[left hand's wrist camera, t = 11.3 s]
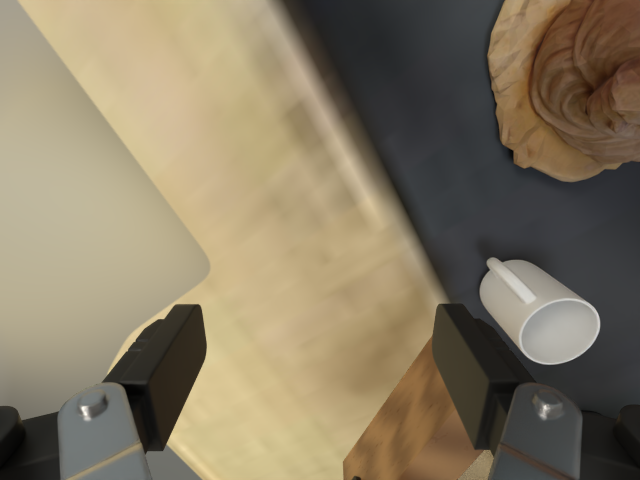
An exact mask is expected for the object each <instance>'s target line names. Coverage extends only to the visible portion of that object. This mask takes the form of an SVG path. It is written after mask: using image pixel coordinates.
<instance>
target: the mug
mask: <svg viewBox="0 0 640 480" xmlns="http://www.w3.org/2000/svg"><path fill="white" fill-rule="evenodd" d="M487 266H488V267H489V269H490V271H489V272H488V273H487V274H486V275H485V276H484V278H483V280H482V282H481V285H480V298H481V301H482V303H483V305H484V306H485V308H486V309H487V311H488V312H489V313H490V314H491V315H492V317H493V318H494V319H495V320H496V321H497V323H498V324H499V325H500V326H501V327H502V328H503V330H504V331H505V332H506V333H507V334H508V336H509V337H510V338H511V339H512V340H513V342H514V343H515V344H516V345H517V346H518V348H519V349H520V350H521V351H522V352H523V354H524V355H525V356H526V357H528V358H529V359H531V360H533V361H535V362H537V363H541V364H560V363H564V362H567V361H570V360H572V359H574V358H576V357H578V356H580V355H581V354H583V353H584V352H585V351H586V350H587V349H588V348H589V347H590V346H591V345H592V344H593V343H594V341H595V339H596V338H597V335H598V333H599V329H600V319H599V315H598V313H597V311H596V309H595V308H594V307H593V306H592V305H591V304H589V303H588V302H587V301H585V300H584V299H582V298H581V297H580V296H578V295H577V294H575V293H574V292H573V291H571V290H570V289H568V288H567V287H566V286H564V285H563V284H561V283H560V282H558V281H557V280H556V279H554V278H553V277H551V276H550V275H549V274H547V273H546V272H544V271H543V270H542V269H540V268H539V267H537V266H536V265H534V264H532V263H530V262H527V261H524V260H509V261H505V262H501V261H500V260H498V259H497V258H489V259H488V260H487Z"/></svg>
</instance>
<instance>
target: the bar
mask: <svg viewBox="0 0 640 480" xmlns="http://www.w3.org/2000/svg"><path fill="white" fill-rule="evenodd" d="M432 337H433V335H432ZM432 337H431V338H430V340H429V341H428V342H427V344H426V345H425V347H424V348H423V349H422V351H421V352H420V354H419V355H418V356H417V358H416V359H415V361H414V362H413V364H412V365H411V366H410V368H409V369H408V371H407V372H406V373H405V375H404V376H403V378H402V379H401V381H400V382H399V383H398V385H397V386H396V388H395V389H394V390H393V392H392V393H391V395H390V396H389V397H388V399H387V400H386V402H385V403H384V405H383V406H382V407H381V409H380V410H379V412H378V413H377V414H376V416H375V417H374V419H373V420H372V421H371V423H370V424H369V426H368V427H367V429H366V430H365V431H364V433H363V434H362V436H361V437H360V438H359V440H358V441H357V443H356V444H355V445H354V447H353V448H352V450H351V451H350V453H349V454H348V455H347V457H346V458H345V460H344V461H343V475H344V480H352V478H353V477H354V476H357V477H360V478H361V480H457V479H458V478H459V477H460V476H461V475H462V474H463V473H464V472H465V471H466V469H467V468H468V467H469V466H470V465H471V464H472V463H473V462H474V461H475V460H476V458H477V457H478V456H479V455H480V454H481V453H482V452H483V451H484V450H474V448H473V445H472V443H471V441H470V439H469V437H468V434H467V432H466V430H465V428H464V426H463V423H462V421H461V419H460V417H459V414H458V412H457V410H456V408H455V406H454V403H453V401H452V399H451V397H450V395H449V392H448V390H447V388H446V386H445V384H444V381H443V379H442V377H441V375H440V373H439V370H438V368H437V366H436V364H435V361H434V359H433V354H432Z"/></svg>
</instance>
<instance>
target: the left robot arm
mask: <svg viewBox="0 0 640 480" xmlns="http://www.w3.org/2000/svg"><path fill="white" fill-rule="evenodd" d="M206 349H207V343H206V336H205V329H204V322H203V315H202V309H201V306H200V305H199V304H176V305H175V306H174V307H173V308H172V309H171V311H170V312H169V313H168V315H167V316H166V317H165V319H158V320H157V321H155V322H154V323H152V324H151V325H149V326H148V327H146V328H145V329H144V330H143V331H142V333H141V334H140V335H139V336H138V338H137V339H136V342H134V343H133V344H132V345H131V346H130V348H129V349H128V352H126V353H125V354H124V355H123V356H122V358H121V359H120V360H119V361H118V363H117V364H116V365H115V366H114V368H113V369H112V370H111V371H110V373H109V374H108V375H107V376H106V378H105V379H104V380H103V382H102V383H100V384H96V385H93V386H90V387H88V388H85V389H83V390H82V391H80V392H78V393H76V394H75V395H73V396H72V397H71V398H70V399H69V400H68V401H66V402H65V404H64V405H63V406H62V407H61V409H60V411H58V412H55V413H51V414H47V415H43V416H39V417H34V418H30V419H26V420H21V418H20V416H19V413H18V411H17V410H16V409H15V408H13V407H10V406H0V480H152V477H151V473H150V470H149V467H148V463H147V460H146V457H145V455H146V453H147V451H163V450H164V448H165V446H166V443H167V441H168V439H169V437H170V435H171V433H172V430H173V428H174V426H175V424H176V422H177V419H178V417H179V415H180V413H181V411H182V409H183V406H184V404H185V402H186V400H187V398H188V395H189V393H190V391H191V389H192V387H193V385H194V382H195V380H196V378H197V376H198V374H199V372H200V369H201V367H202V365H203V363H204V360H205V356H206ZM432 354H433V359H434V361H435V364H436V366H437V368H438V370H439V373H440V375H441V377H442V379H443V381H444V384H445V386H446V388H447V390H448V392H449V395H450V397H451V399H452V401H453V403H454V406H455V408H456V410H457V412H458V414H459V417H460V419H461V421H462V423H463V426H464V428H465V430H466V432H467V434H468V437H469V439H470V441H471V443H472V445H473V448H474V450H490V451H491V453H492V455H493V457H494V460H493V463H492V467H491V470H490V473H489V477H488V480H640V405H627V406H625V407H623V408H622V409H621V411H620V414H619V416H618V418H617V419H612V418H608V417H604V416H600V415H596V414H591V413H587V412H583V411H580V409H579V407H578V406H577V405H576V404H575V402H574V401H572V400H571V399H570V398H569V397H568V396H567V395H565V394H564V393H562V392H560V391H558V390H557V389H555V388H552V387H550V386H547V385H544V384H540V383H536V381H535V380H534V379H533V378H532V376H531V375H530V374H529V373H528V371H527V370H526V369H525V368H524V366H523V365H522V364H521V362H520V361H519V360H518V359H517V357H516V356H515V355H514V354H513V352H512V351H510V350H509V347H508V346H507V345H506V343H505V342H504V341H502V338H501V337H500V336H499V335H498V333H497V332H496V331H495V330H494V328H492V327H491V326H490V325H488V324H487V323H485V322H484V321H482V320H481V319H474V318H473V317H472V316H471V314H470V313H469V311H468V310H467V309H466V307H465V306H464V305H463V304H439V305H438V306H437V309H436V316H435V323H434V330H433V337H432Z"/></svg>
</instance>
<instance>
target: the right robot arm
mask: <svg viewBox="0 0 640 480" xmlns="http://www.w3.org/2000/svg"><path fill="white" fill-rule="evenodd" d="M583 412H587V413H591V414H596V415H600V416H602V415H601V414H599V413H596V412H591V411H583ZM352 480H361V478H360V477H357V476H354V477H353V478H352Z"/></svg>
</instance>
